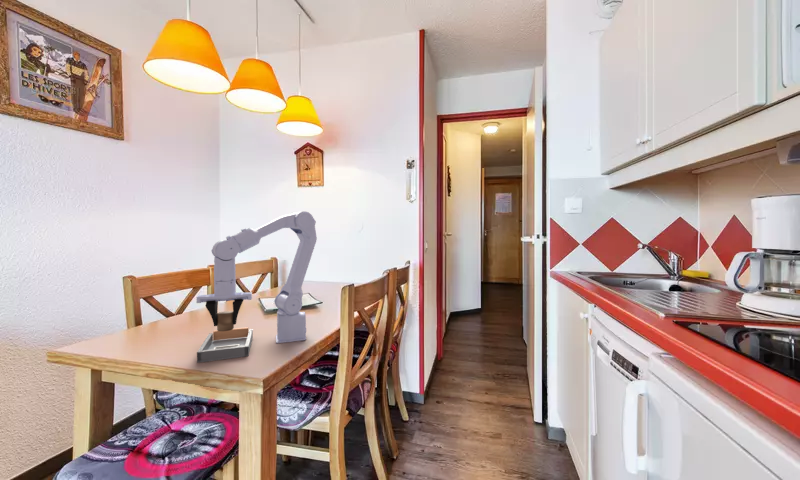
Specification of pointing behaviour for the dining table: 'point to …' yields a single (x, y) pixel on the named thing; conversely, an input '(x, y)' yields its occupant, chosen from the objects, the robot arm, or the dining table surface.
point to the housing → (224, 348)
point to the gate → (231, 333)
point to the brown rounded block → (225, 321)
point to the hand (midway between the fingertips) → (225, 324)
